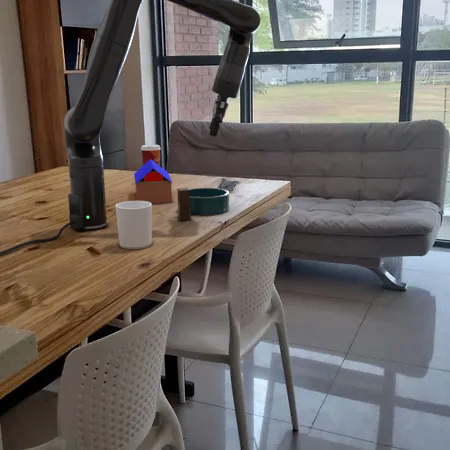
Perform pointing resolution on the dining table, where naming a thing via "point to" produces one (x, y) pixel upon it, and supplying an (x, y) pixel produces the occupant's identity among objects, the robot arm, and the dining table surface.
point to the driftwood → (226, 184)
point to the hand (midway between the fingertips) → (212, 132)
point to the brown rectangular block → (183, 204)
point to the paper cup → (151, 153)
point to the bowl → (208, 201)
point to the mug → (134, 224)
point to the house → (153, 184)
